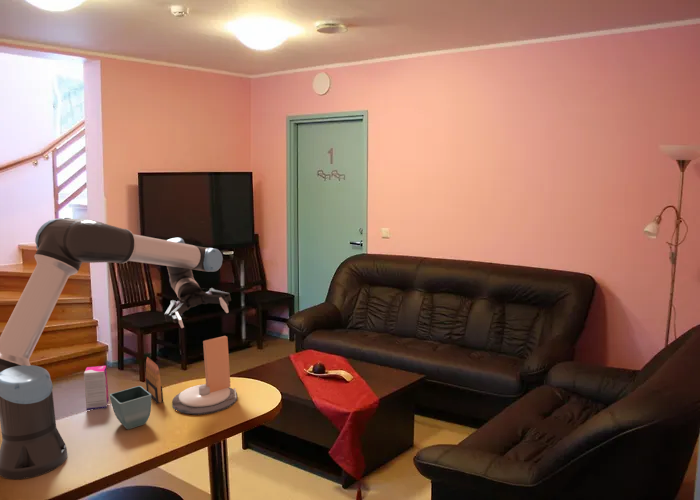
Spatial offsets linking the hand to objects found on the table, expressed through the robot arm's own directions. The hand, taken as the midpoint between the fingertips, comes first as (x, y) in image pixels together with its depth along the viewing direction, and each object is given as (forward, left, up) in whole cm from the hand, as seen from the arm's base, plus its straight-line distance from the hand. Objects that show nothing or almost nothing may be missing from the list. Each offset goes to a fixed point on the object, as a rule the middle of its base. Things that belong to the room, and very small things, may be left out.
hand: (204, 316), depth 176 cm
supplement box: (-29, -18, -27) cm, 43 cm away
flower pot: (-9, -22, -27) cm, 35 cm away
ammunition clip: (-18, -6, -27) cm, 33 cm away
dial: (-1, 0, -25) cm, 25 cm away
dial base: (-2, -1, -27) cm, 27 cm away
